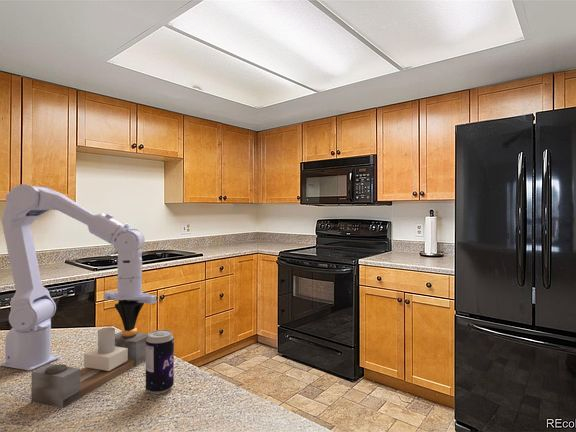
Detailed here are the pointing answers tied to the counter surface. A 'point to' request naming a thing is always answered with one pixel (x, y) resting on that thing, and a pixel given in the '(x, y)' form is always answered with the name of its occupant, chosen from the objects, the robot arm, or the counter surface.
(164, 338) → the beverage can
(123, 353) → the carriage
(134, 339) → the rail
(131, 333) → the button
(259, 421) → the counter surface
